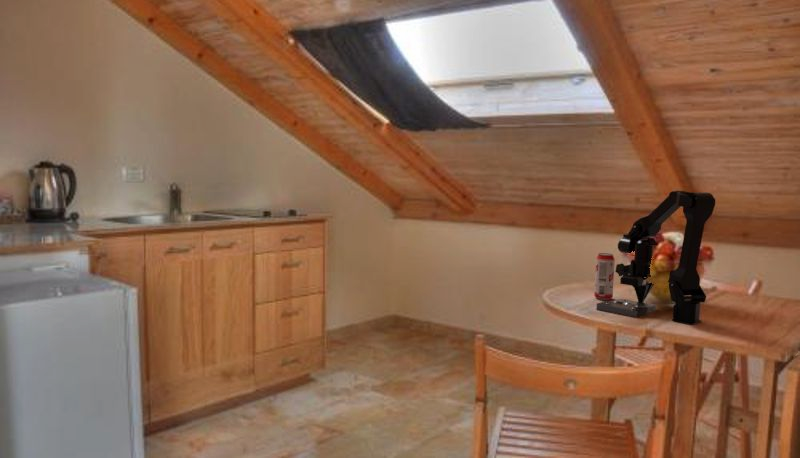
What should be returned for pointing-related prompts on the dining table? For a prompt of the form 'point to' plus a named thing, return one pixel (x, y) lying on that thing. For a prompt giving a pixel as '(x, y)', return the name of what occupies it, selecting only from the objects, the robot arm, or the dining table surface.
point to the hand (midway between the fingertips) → (640, 303)
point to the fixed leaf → (622, 308)
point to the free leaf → (631, 303)
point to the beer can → (604, 276)
